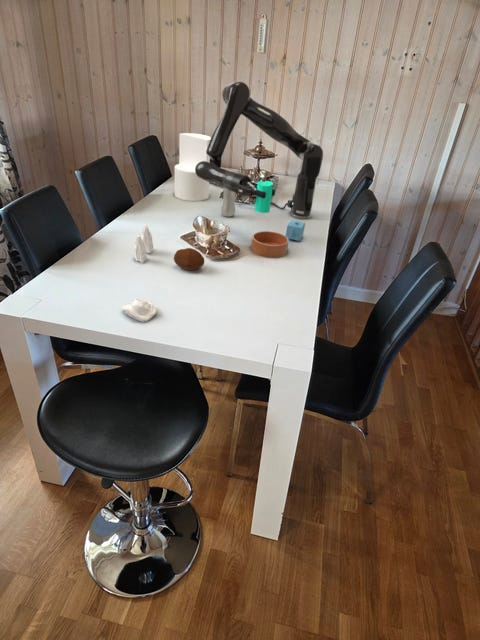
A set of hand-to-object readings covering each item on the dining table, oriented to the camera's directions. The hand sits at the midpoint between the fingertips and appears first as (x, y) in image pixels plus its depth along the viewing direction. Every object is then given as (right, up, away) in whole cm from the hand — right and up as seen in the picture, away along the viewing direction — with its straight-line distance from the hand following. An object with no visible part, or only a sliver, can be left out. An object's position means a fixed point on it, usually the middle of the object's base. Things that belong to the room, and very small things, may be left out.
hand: (269, 194), depth 163 cm
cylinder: (-36, +16, +59) cm, 71 cm away
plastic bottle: (-17, +1, +39) cm, 42 cm away
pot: (0, -19, +10) cm, 22 cm away
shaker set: (-46, -24, -3) cm, 52 cm away
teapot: (+12, -13, +22) cm, 28 cm away
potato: (-29, -29, -9) cm, 42 cm away
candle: (-3, -5, +5) cm, 8 cm away
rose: (-40, -45, -35) cm, 70 cm away
